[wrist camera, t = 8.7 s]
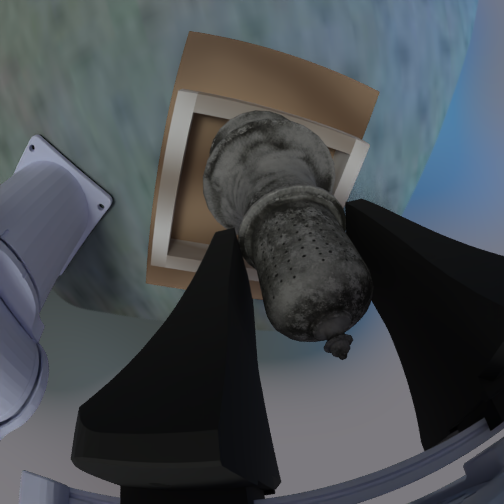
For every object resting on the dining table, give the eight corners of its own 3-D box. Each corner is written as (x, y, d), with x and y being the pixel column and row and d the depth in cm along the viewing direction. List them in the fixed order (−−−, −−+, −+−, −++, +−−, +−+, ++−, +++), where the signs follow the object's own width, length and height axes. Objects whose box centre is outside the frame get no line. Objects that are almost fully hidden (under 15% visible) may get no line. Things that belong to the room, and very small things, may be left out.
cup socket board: (287, 294, 26) (294, 319, 23) (147, 275, 23) (141, 301, 20) (372, 90, 16) (396, 96, 13) (190, 33, 13) (185, 25, 11)
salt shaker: (185, 129, 14) (141, 327, 4) (294, 90, 13) (479, 203, 4) (227, 218, 17) (257, 425, 8) (321, 185, 17) (434, 361, 7)
